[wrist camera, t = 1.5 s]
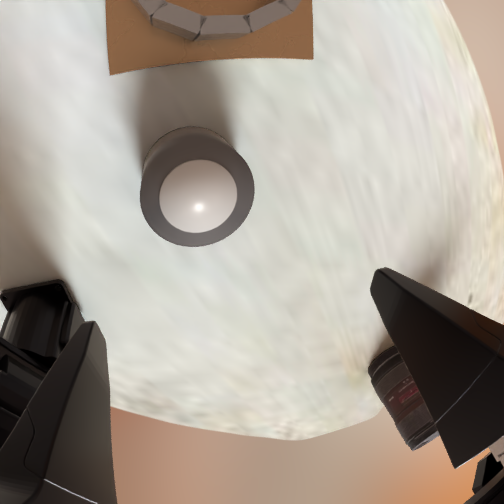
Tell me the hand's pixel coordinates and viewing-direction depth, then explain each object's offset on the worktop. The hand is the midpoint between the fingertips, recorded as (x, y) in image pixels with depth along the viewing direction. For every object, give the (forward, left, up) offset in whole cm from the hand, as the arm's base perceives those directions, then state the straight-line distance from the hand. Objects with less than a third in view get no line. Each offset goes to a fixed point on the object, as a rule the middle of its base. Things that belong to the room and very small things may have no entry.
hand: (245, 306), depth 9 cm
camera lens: (+24, -31, -12) cm, 41 cm away
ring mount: (+2, +13, -12) cm, 18 cm away
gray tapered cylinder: (0, 0, -12) cm, 12 cm away
